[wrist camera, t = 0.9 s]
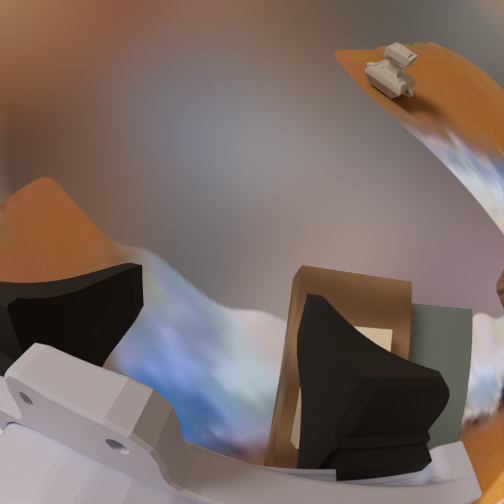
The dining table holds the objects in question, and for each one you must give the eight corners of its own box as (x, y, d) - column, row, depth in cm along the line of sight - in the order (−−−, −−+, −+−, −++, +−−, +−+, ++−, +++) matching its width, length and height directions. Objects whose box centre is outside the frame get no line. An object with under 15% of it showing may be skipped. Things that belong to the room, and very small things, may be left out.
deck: (365, 467, 20) (383, 482, 16) (263, 468, 20) (267, 487, 16) (390, 291, 26) (411, 281, 22) (293, 278, 26) (302, 265, 22)
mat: (454, 443, 20) (456, 444, 19) (367, 459, 20) (368, 460, 20) (470, 309, 25) (472, 309, 25) (390, 301, 25) (391, 301, 25)
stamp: (353, 78, 37) (368, 37, 29) (372, 69, 38) (386, 33, 30) (399, 111, 35) (421, 72, 27) (414, 99, 36) (434, 64, 29)
